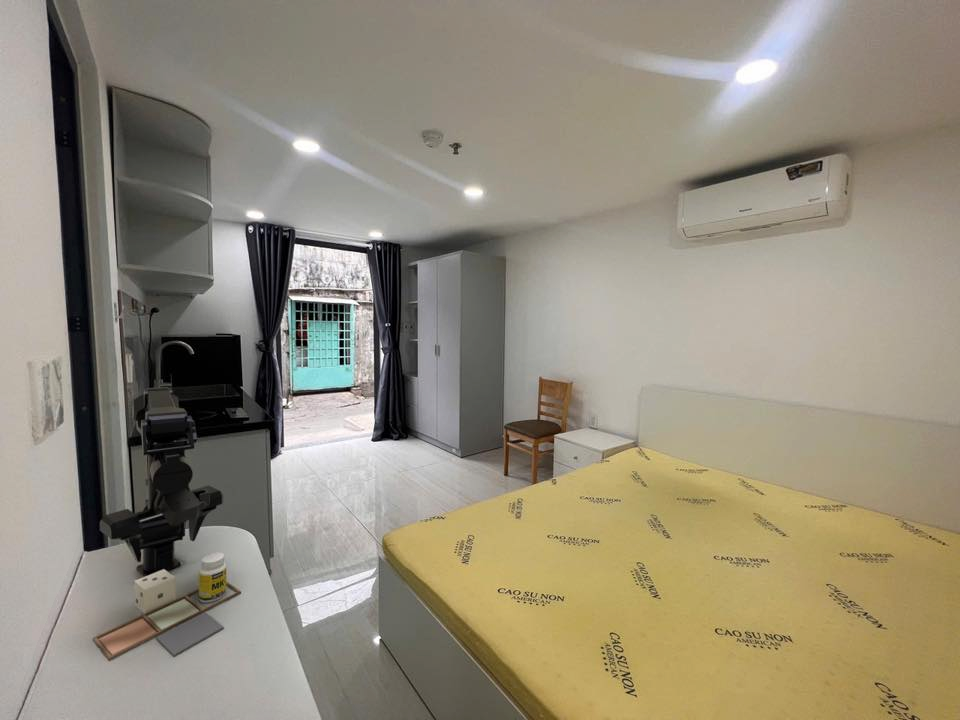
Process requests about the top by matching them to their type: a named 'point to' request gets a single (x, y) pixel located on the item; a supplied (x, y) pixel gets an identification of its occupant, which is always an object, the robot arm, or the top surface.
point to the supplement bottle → (212, 577)
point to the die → (154, 591)
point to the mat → (189, 634)
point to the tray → (152, 624)
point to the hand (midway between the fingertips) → (166, 550)
